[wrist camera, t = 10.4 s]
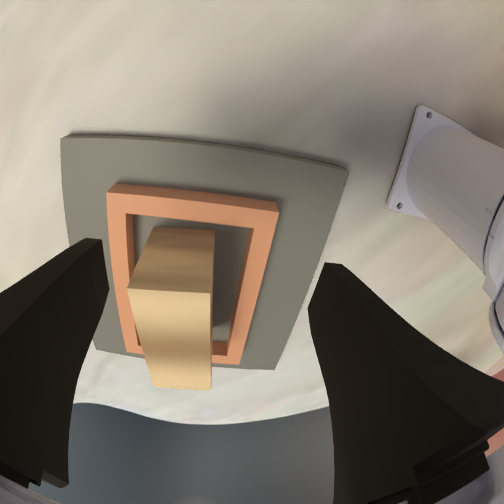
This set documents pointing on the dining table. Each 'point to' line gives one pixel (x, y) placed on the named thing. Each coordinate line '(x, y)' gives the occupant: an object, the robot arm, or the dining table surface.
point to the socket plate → (205, 217)
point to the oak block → (175, 306)
